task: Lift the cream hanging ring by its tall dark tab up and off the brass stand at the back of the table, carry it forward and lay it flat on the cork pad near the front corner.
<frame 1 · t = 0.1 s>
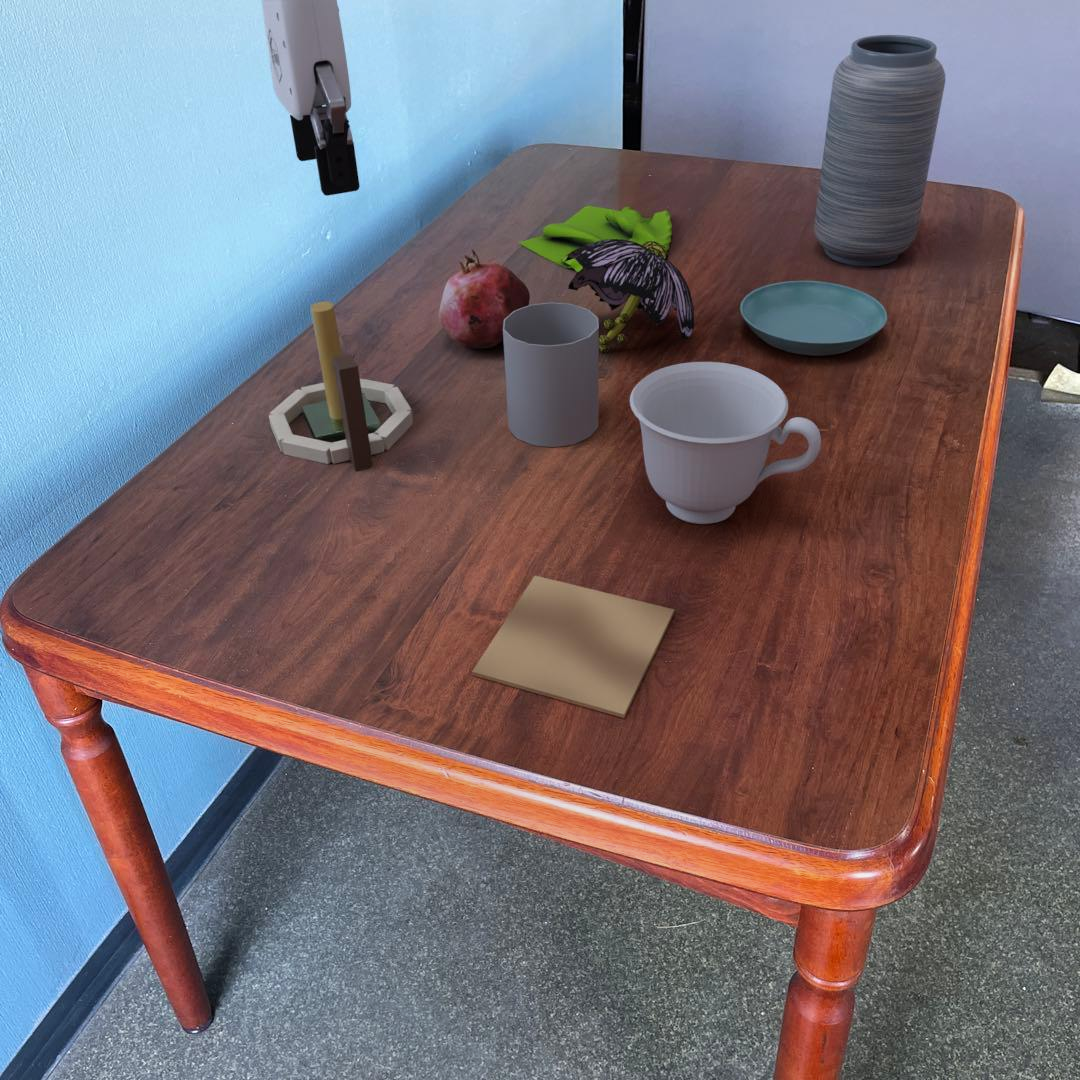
hand: (327, 174, 95), 20 cm above the table, tool pointing down, fingers open, 9 cm apart
cup: (553, 424, 99), on the table
stand: (342, 424, 100), on the table
cork pad: (576, 643, 76), on the table
vase: (860, 253, 128), on the table
fruit: (487, 342, 113), on the table
decorative flower: (632, 339, 112), on the table
cloth: (609, 240, 133), on the table
teacup: (717, 510, 88), on the table
saucer: (809, 334, 112), on the table
ring: (342, 424, 100), on the table
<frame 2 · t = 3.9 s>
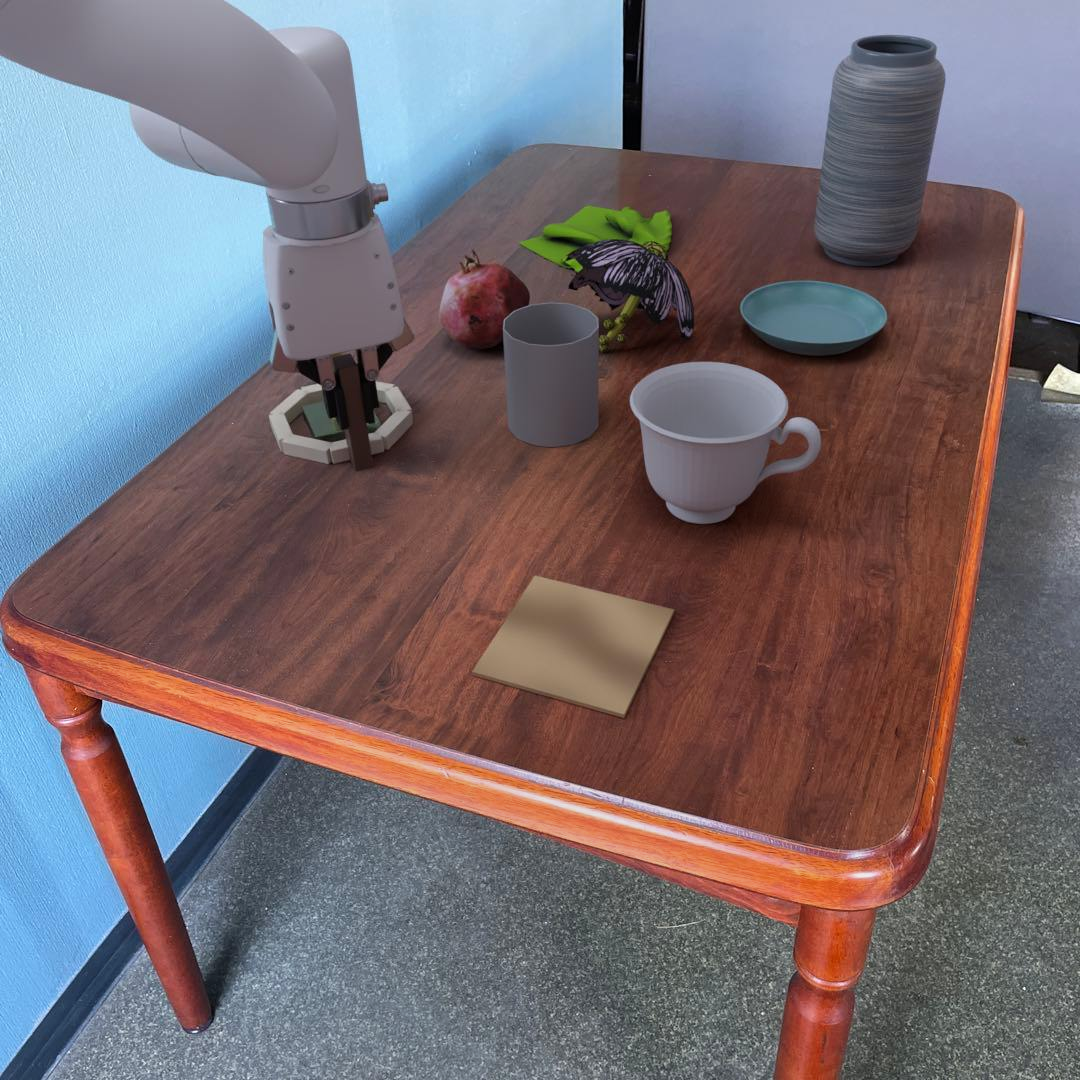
hand: (354, 418, 92), 5 cm above the table, tool pointing down, fingers closed on ring
ring: (342, 424, 100), on the table, touching gripper
everything else where it was.
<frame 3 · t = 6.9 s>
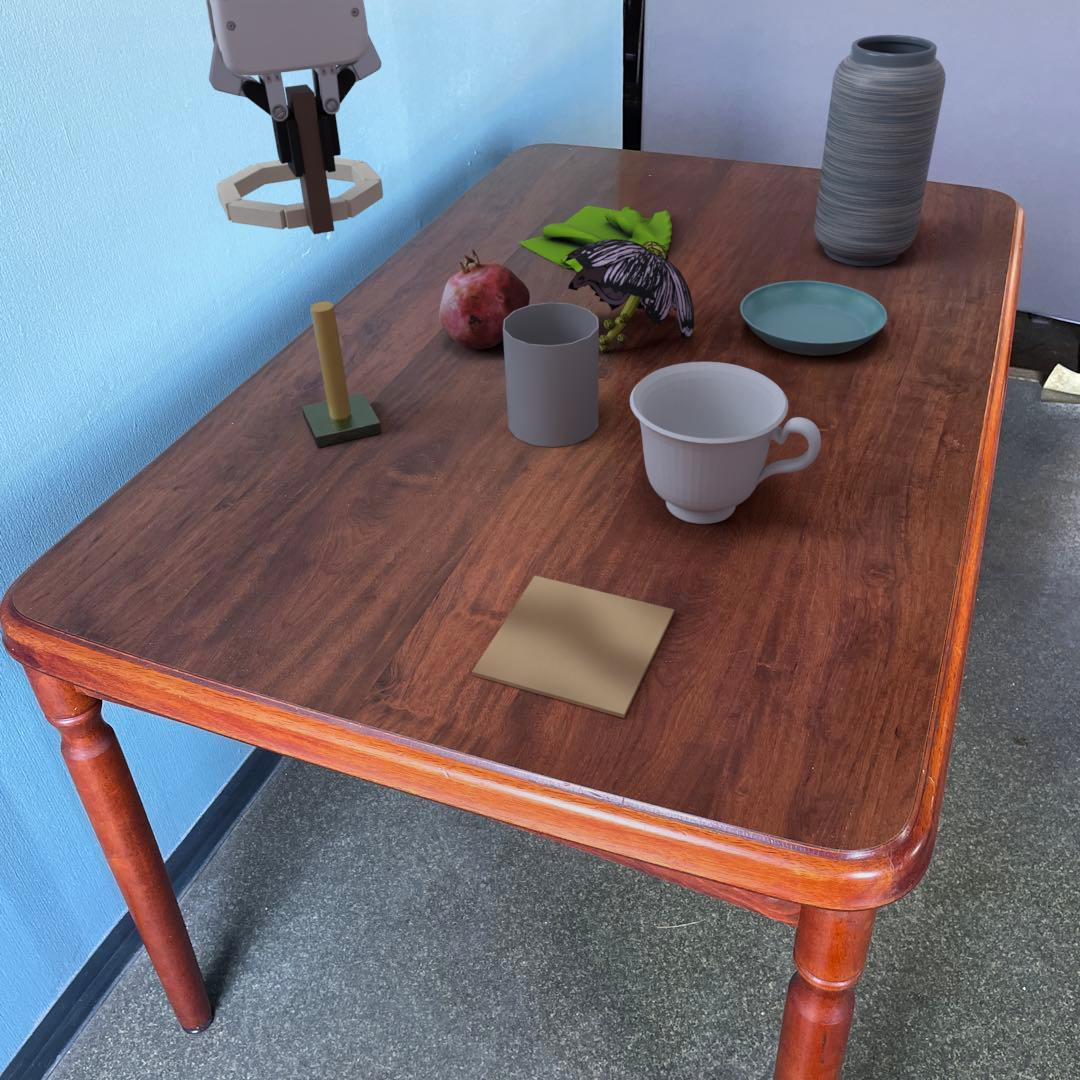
hand: (311, 167, 79), 26 cm above the table, tool pointing down, fingers closed on ring
ring: (301, 198, 87), point 22 cm above the table, touching gripper
everything else where it was.
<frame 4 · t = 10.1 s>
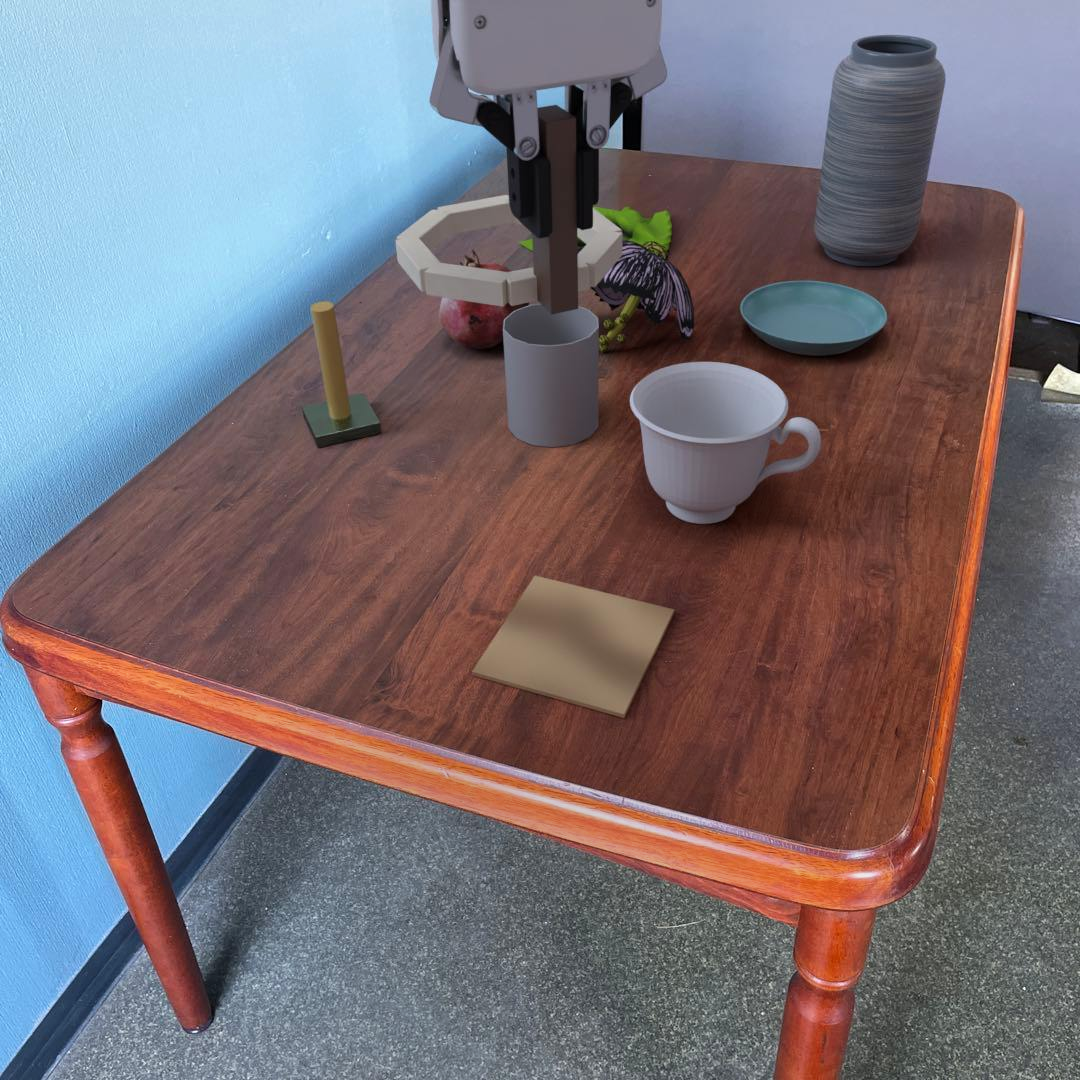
hand: (554, 222, 55), 31 cm above the table, tool pointing down, fingers closed on ring
ring: (509, 257, 63), point 27 cm above the table, touching gripper
everything else where it was.
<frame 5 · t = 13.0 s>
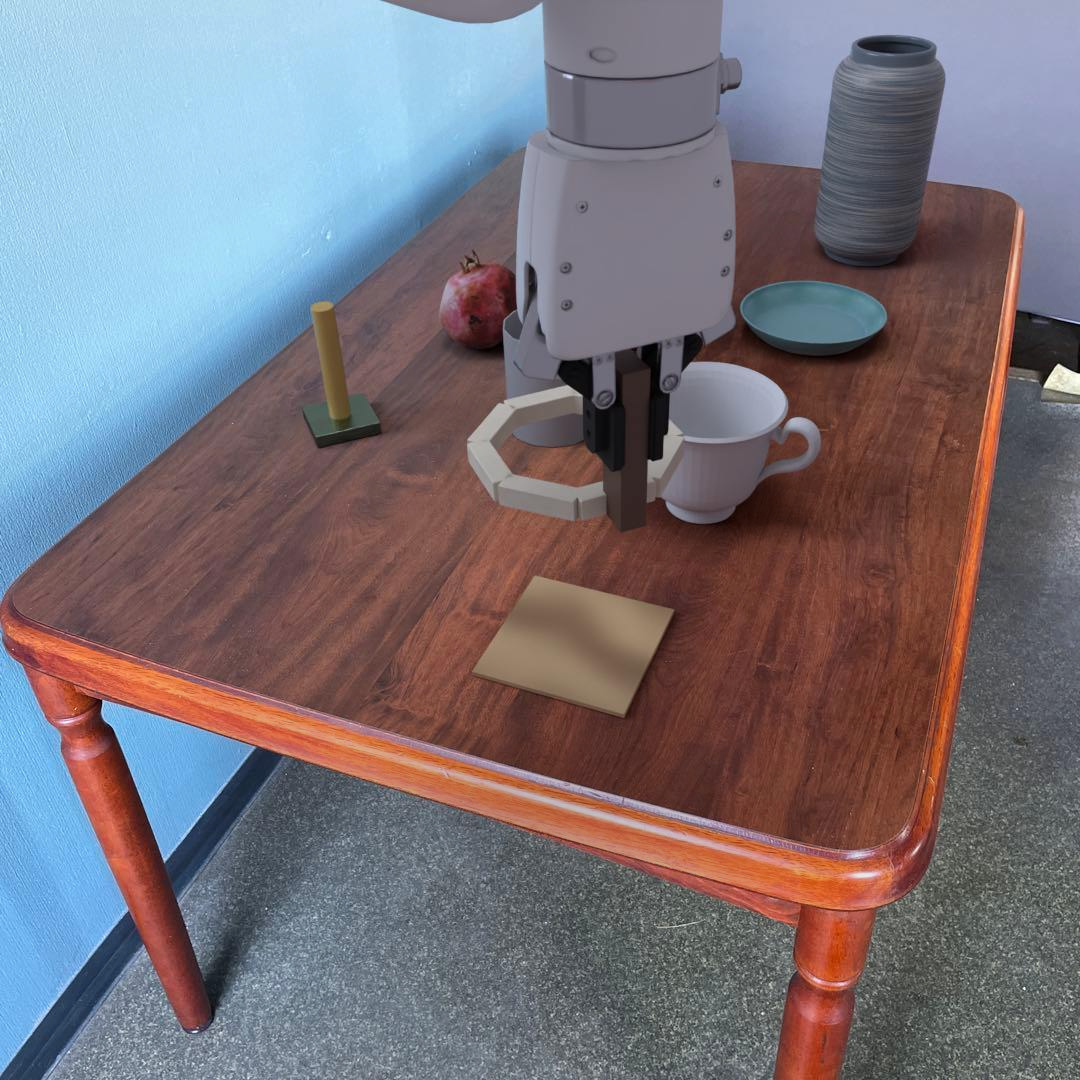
hand: (625, 451, 58), 20 cm above the table, tool pointing down, fingers closed on ring
ring: (575, 457, 66), point 16 cm above the table, touching gripper
everything else where it was.
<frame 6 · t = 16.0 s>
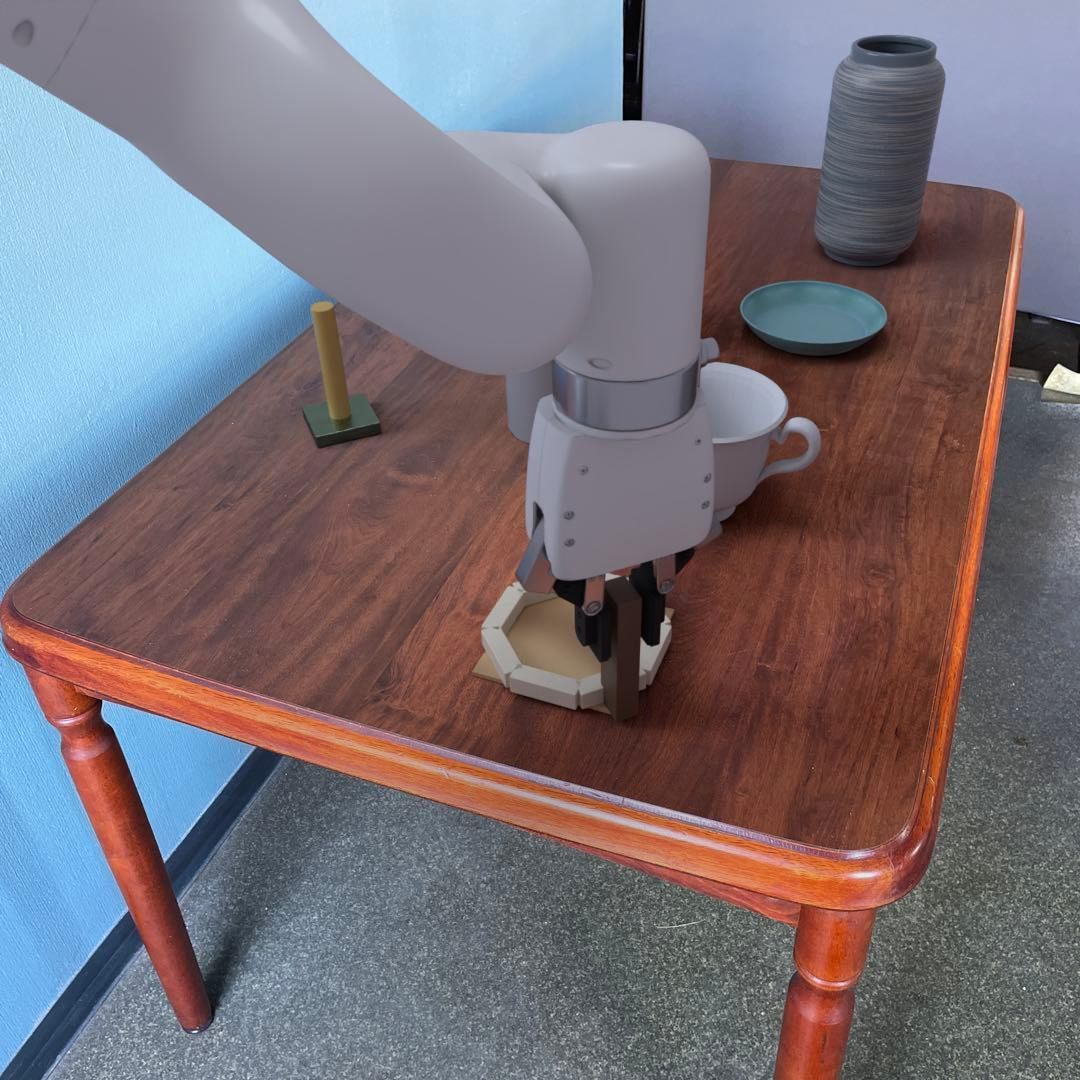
hand: (619, 637, 67), 6 cm above the table, tool pointing down, fingers closed
ring: (576, 640, 75), on the table, touching cork pad
everything else where it was.
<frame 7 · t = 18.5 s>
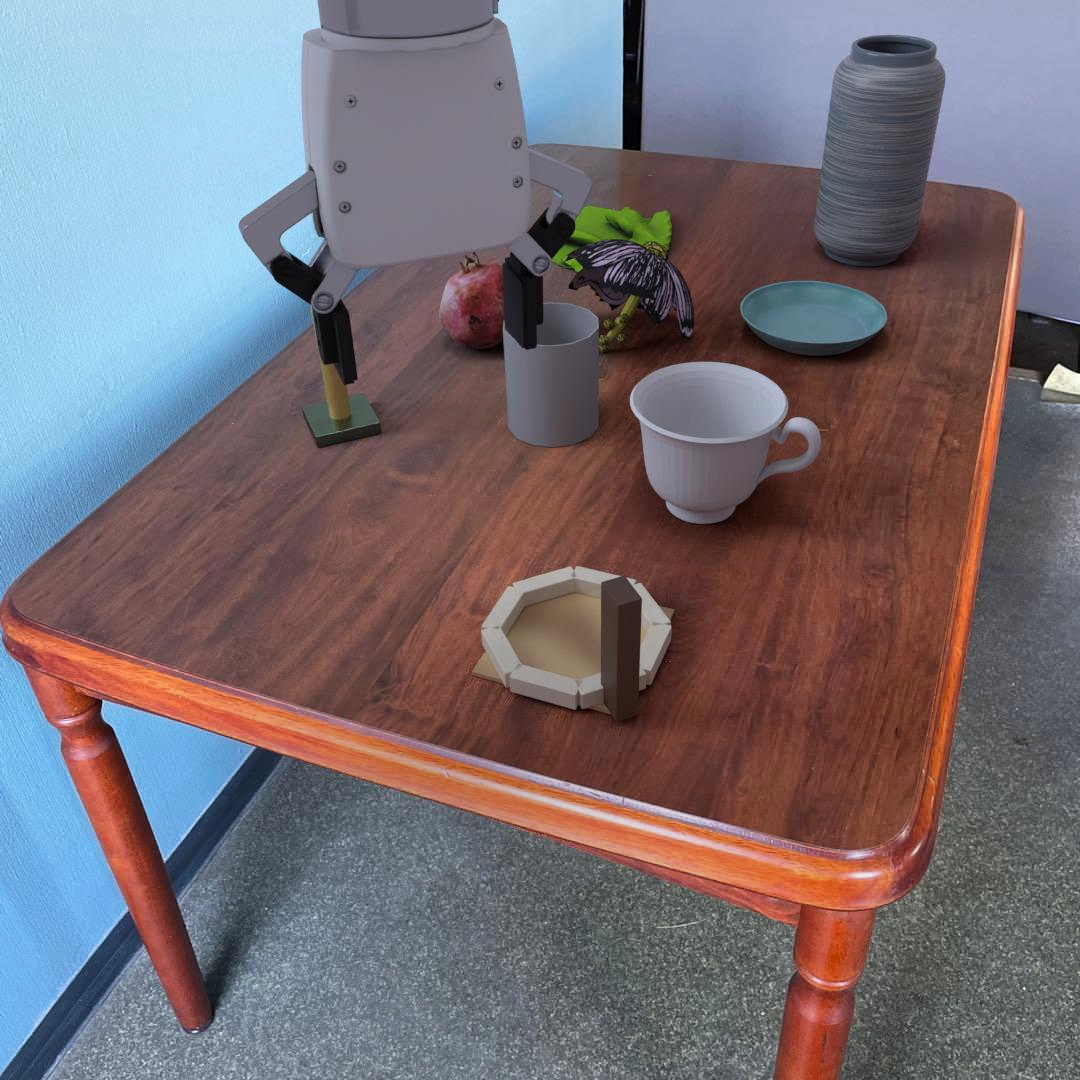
hand: (434, 355, 56), 25 cm above the table, tool pointing down, fingers open, 9 cm apart
nothing on the table moved.
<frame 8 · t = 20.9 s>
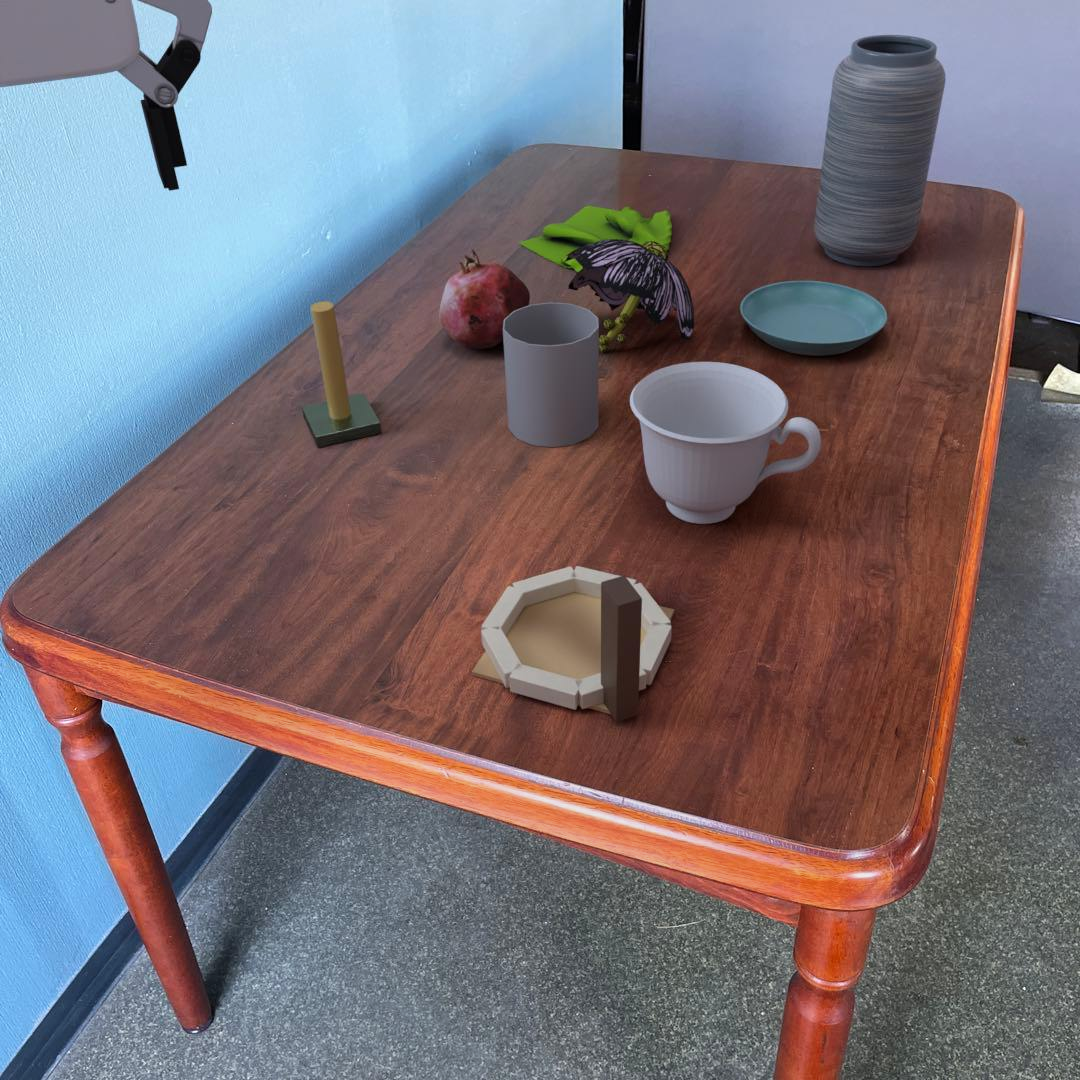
hand: (72, 197, 55), 33 cm above the table, tool pointing down, fingers open, 9 cm apart
nothing on the table moved.
at the end: ring inside the target area on the cork pad (0.1 cm from its centre), point 0.4 cm above the cork pad's base; ring tilted 0°; the gripper is holding nothing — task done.
